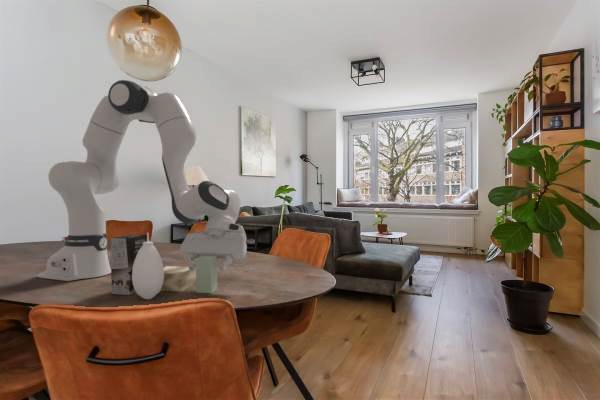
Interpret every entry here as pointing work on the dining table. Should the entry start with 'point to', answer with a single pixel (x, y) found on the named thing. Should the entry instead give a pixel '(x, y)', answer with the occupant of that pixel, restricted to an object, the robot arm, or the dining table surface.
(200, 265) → the sage post
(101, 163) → the robot arm
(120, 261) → the coffee box
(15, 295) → the dining table surface
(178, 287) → the base block
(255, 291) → the dining table surface
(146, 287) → the white air blower bulb
